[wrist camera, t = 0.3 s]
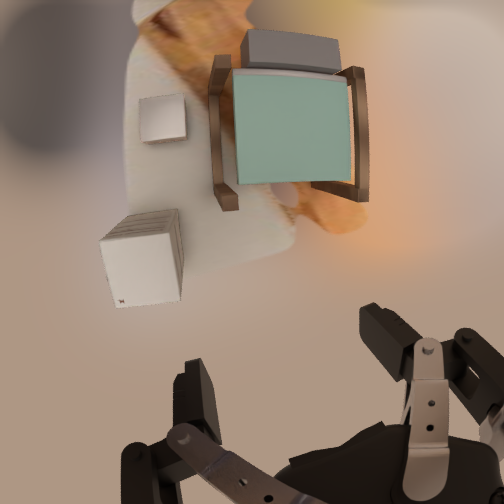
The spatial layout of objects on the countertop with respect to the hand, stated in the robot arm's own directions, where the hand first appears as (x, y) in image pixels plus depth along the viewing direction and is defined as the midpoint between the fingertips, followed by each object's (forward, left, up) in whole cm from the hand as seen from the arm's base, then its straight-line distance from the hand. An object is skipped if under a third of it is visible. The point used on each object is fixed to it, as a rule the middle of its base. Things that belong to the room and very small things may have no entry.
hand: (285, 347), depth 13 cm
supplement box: (+1, -10, -27) cm, 29 cm away
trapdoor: (-13, +6, -18) cm, 24 cm away
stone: (-14, -7, -27) cm, 31 cm away
